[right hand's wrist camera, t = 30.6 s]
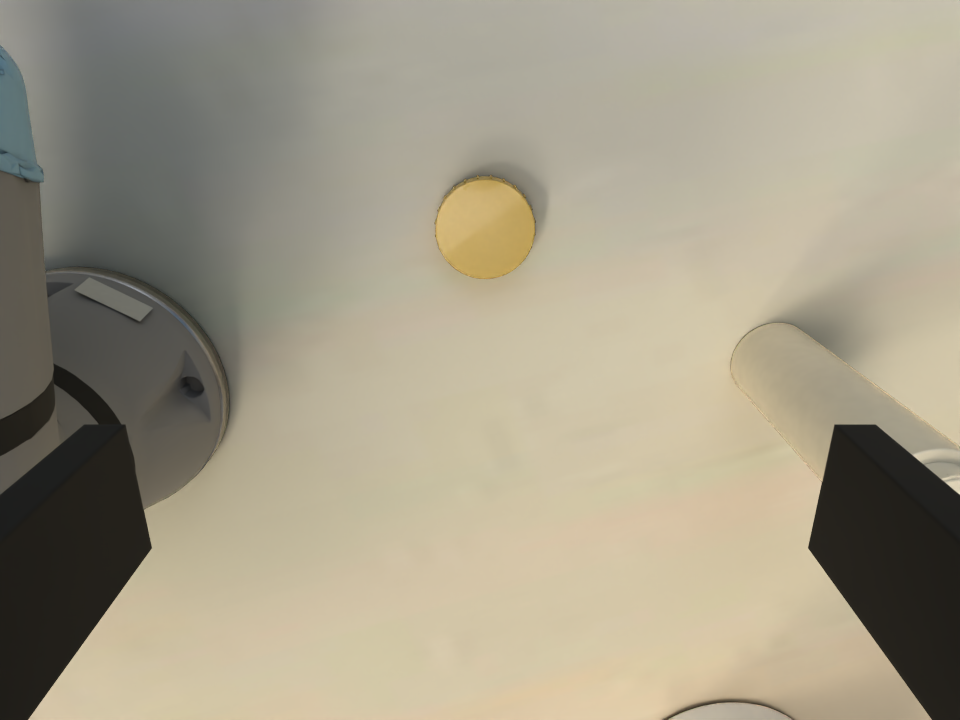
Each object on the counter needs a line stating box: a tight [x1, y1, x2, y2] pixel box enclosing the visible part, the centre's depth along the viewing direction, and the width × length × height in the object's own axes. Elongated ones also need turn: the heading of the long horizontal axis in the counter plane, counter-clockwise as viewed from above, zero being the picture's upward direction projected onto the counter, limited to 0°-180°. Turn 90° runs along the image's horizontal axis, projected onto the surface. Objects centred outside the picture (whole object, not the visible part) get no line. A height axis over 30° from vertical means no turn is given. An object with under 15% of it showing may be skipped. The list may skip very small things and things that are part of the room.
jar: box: [731, 323, 960, 494], centre depth 34 cm, size 5×5×17 cm
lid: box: [435, 175, 536, 279], centre depth 38 cm, size 6×6×2 cm
